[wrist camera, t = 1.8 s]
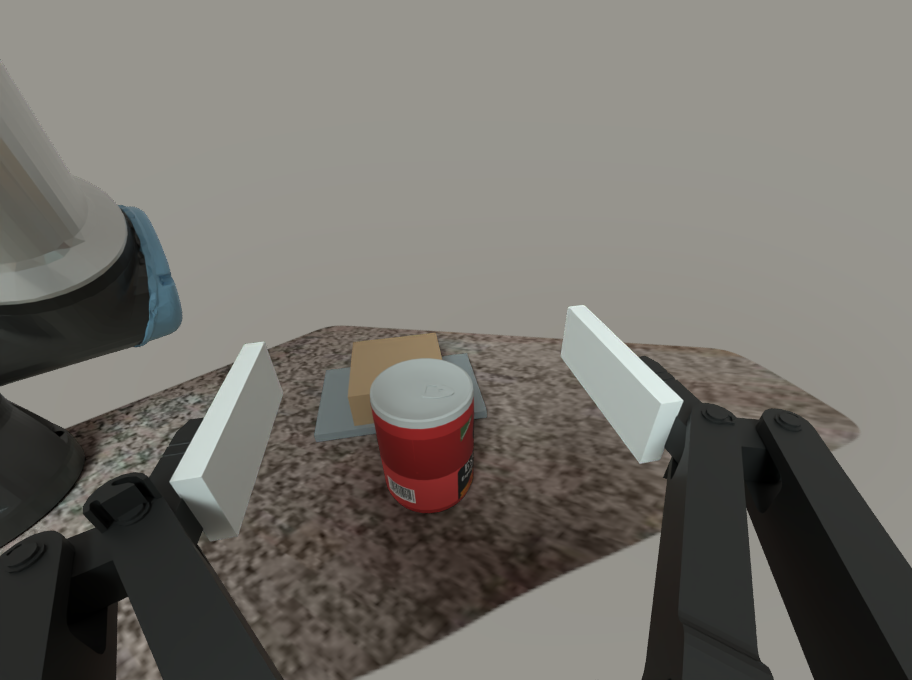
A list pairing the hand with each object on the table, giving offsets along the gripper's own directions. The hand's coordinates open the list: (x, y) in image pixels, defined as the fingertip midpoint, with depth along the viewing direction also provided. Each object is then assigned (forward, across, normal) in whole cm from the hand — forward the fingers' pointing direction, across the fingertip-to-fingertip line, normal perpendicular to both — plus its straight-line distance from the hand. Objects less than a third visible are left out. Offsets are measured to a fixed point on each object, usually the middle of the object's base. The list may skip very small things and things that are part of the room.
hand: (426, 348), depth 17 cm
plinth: (+21, -2, -20) cm, 29 cm away
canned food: (+9, 0, -20) cm, 22 cm away
